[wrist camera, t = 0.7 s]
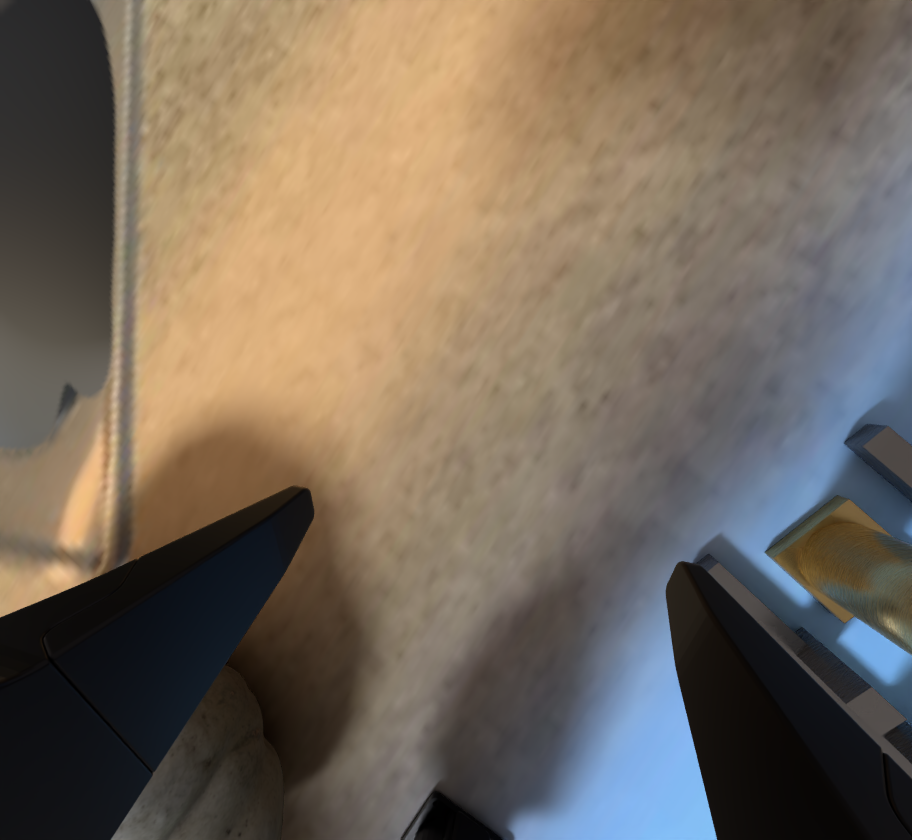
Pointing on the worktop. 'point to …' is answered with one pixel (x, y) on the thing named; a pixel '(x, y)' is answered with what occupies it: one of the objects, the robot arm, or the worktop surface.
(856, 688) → the frame
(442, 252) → the worktop surface
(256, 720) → the gourd
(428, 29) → the worktop surface
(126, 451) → the worktop surface
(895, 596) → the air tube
